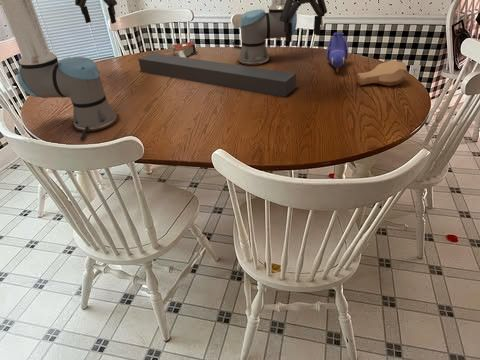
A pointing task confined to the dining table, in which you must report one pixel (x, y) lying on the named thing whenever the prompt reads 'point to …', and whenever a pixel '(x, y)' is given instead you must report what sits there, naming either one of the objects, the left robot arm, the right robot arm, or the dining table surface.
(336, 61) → the toy
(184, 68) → the slab
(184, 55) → the tape dispenser
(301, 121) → the dining table surface
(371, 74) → the squash
